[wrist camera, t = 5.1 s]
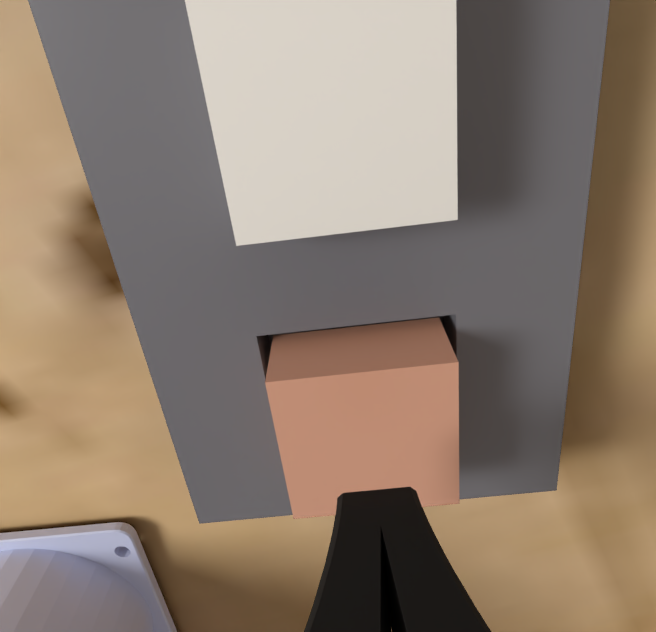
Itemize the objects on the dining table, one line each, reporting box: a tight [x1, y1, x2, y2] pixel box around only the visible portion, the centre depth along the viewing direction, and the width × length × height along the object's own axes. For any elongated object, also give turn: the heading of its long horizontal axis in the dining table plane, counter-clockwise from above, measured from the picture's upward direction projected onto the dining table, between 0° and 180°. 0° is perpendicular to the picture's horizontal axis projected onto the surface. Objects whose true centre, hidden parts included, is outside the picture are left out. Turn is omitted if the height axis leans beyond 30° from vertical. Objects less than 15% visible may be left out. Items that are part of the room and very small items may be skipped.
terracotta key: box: [265, 317, 459, 519], centre depth 12 cm, size 4×4×2 cm
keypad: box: [28, 0, 610, 524], centre depth 11 cm, size 21×10×2 cm, turn 7°
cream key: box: [185, 0, 458, 246], centre depth 9 cm, size 4×4×2 cm
